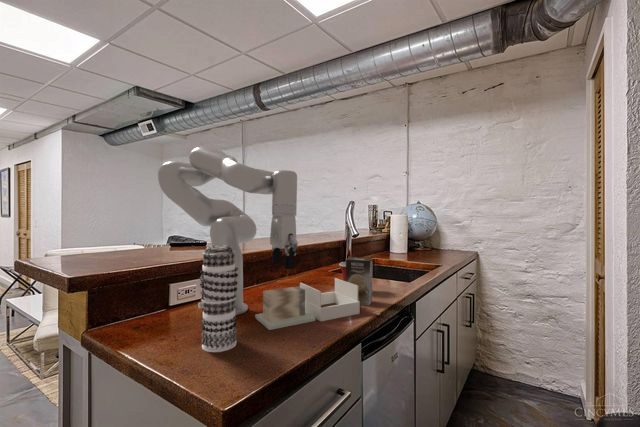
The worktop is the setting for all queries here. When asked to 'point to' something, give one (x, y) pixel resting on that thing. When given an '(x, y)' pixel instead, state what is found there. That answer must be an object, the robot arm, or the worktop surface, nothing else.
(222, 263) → the decorative candle
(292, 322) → the sage board
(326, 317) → the carton
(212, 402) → the worktop surface
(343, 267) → the plastic cup
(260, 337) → the worktop surface
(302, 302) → the birch box
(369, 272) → the coffee box
